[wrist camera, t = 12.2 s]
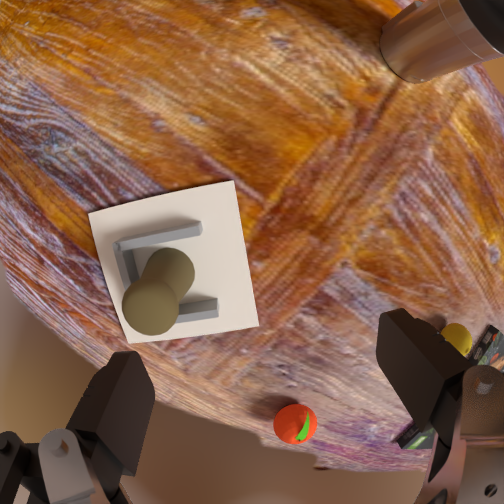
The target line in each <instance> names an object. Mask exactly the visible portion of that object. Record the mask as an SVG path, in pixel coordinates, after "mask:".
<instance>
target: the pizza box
mask: <svg viewBox="0 0 504 504" xmlns="http://www.w3.org/2000/svg"><path fill="white" fill-rule="evenodd" d="M468 361H469V362H470V363H471V364H472V365H473V366H476V365H483V364H484V365H490V366H492V367H495V368H496V369H498V370H499V371H500V372H501V373H503V372H504V335H503V334H502V333H501V332H500V331H499V330H498V329H496V328H495V327H493V326H492V325H491V326H490V328H489V329H488V331H487V332H486V334H485V336H484V337H483V339H482V340H481V342H480V344H479V345H478V347H477V348H476V350H475V351H474V353H473V354H472V355H471V357H470V358H469V360H468ZM436 434H437V432H436V430H435V429H434V428H432V429H430V430H428V431H426V432H424V433H421V432H420V430H419V429H418V427H417V425H416V424H414V425H413V426H412V427H411V428H410V429H409V430H408V431H407V432H406V433H405V434H404V435H403V436H401V437H400V438H399V439H398V440H397V442H398V444H399V446H400V448H401V449H432V447H433V443H434V438H435V436H436Z"/></svg>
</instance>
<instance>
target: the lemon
mask: <svg viewBox="0 0 504 504" xmlns="http://www.w3.org/2000/svg"><path fill="white" fill-rule="evenodd" d="M441 334H442V335H443V336H444V337H445V338H446V341H449V342H450V343H451V344H452V345H453V346H454V347H455V348H456V349H457V350H458V351H459V352H460V353H461V354H462V355H463V356H465V355H466V354H467V353H469V352H470V349H471V346H472V337H471V334H470V333H469V331H468V330H467V329H466V328H465V327H464V326H463V325H461V324H458V323H451V324H449V325H447V326H446V327H445V328H443V329H442V332H441Z"/></svg>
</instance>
